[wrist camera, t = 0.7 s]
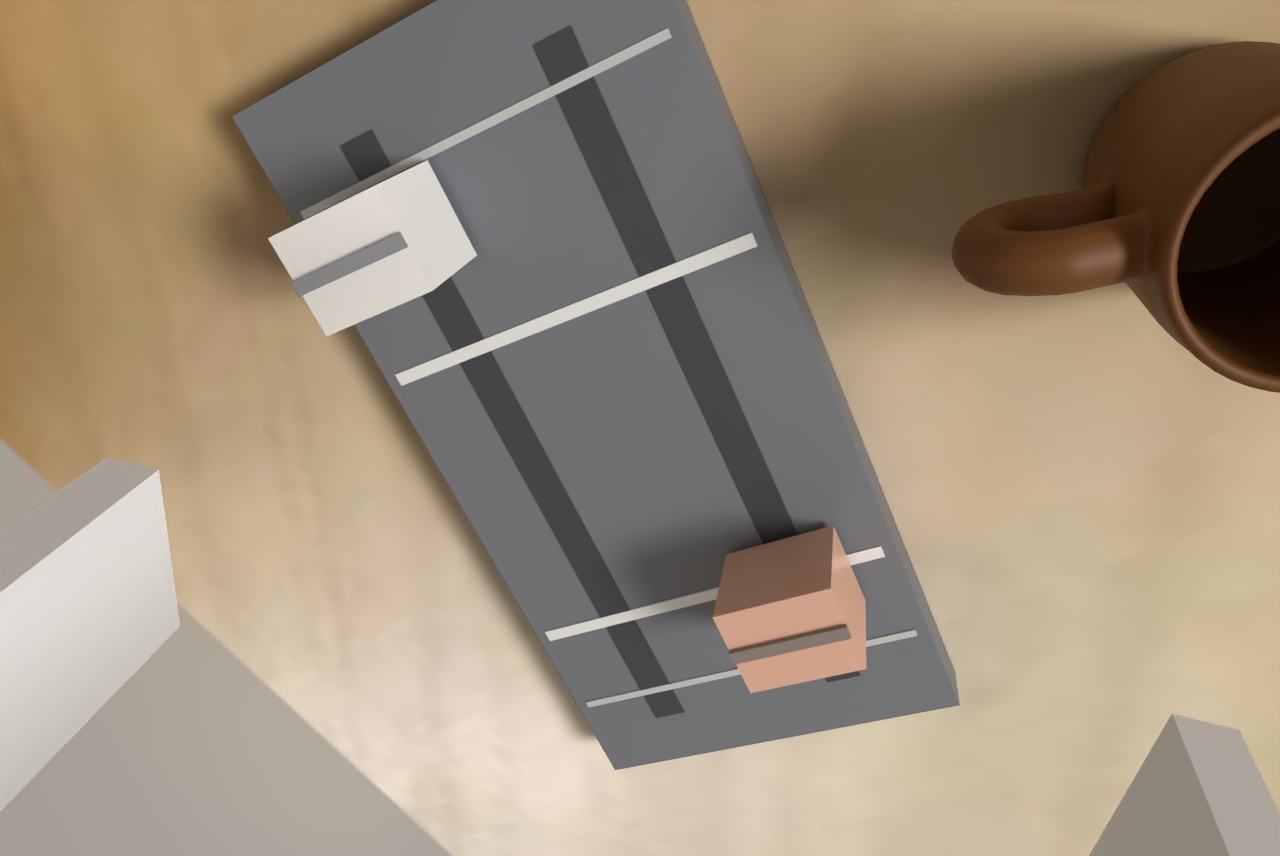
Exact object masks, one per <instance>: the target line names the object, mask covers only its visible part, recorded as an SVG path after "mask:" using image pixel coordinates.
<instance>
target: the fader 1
mask: <svg viewBox="0 0 1280 856" xmlns="http://www.w3.org/2000/svg"><path fill="white" fill-rule="evenodd" d="M268 239H269V241H270V243H271V244H272V246H273V248H274V249H275V251H276V253H277V254H278V256H279V258H280V259H281V261H282V263H283V264H284V266H285V268H286V269H287V271H288V273H289V274H290V276H291V278H292V279H293V281H294V282H292V283H291V285H292V287H293V288H294V290H295V292H296V293H297V295H298V297H300V296H303V298H304V299H305V301H306V303H307V304H308V306H309V308H310V309H311V311H312V313H313V314H314V316H315V318H316V319H317V321H318V323H319V324H320V326H321V328H322V329H323V331H324V333H325V334H326V336H329V335H331V334H334V333H336V332H338V331H340V330H343V329H345V328H347V327H350V326H352V325H354V324H357V323H359V322H361V321H364V320H366V319H368V318H371V317H373V316H375V315H378V314H380V313H382V312H385V311H387V310H389V309H392V308H394V307H396V306H398V305H401V304H403V303H405V302H408V301H410V300H412V299H415V298H417V297H419V296H422V295H424V294H426V293H429V292H431V291H433V290H434V289H435V288H437V287H438V286H439V285H441V284H442V283H443V282H444V281H446V280H447V279H448V278H449V277H451V276H452V275H453V274H454V273H456V272H457V271H458V270H459V269H461V268H462V267H463V266H464V265H466V264H467V263H468V262H469V261H471V260H472V259H473V258H474V257H476V256H477V254H476V252H475V250H474V248H473V246H472V244H471V242H470V241H469V239H468V237H467V235H466V233H465V231H464V229H463V227H462V225H461V223H460V221H459V219H458V218H457V216H456V214H455V212H454V210H453V208H452V206H451V204H450V202H449V200H448V198H447V197H446V195H445V193H444V191H443V189H442V187H441V185H440V183H439V181H438V179H437V177H436V175H435V174H434V172H433V170H432V168H431V166H430V164H429V162H428V160H427V161H425V162H422V163H420V164H418V165H416V166H414V167H412V168H410V169H408V170H406V171H404V172H402V173H400V174H398V175H395V176H393V177H391V178H389V179H387V180H385V181H383V182H381V183H379V184H377V185H375V186H373V187H371V188H369V189H367V190H365V191H363V192H361V193H359V194H357V195H354V196H352V197H350V198H348V199H346V200H344V201H342V202H340V203H338V204H336V205H334V206H332V207H330V208H328V209H326V210H324V211H322V212H320V213H318V214H316V215H314V216H312V217H310V218H308V219H306V220H304V221H302V222H300V223H298V224H296V225H294V226H292V227H290V228H288V229H286V230H284V231H282V232H280V233H278V234H276V235H274V236H272V237H270V238H268Z"/></svg>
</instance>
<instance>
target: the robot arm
mask: <svg viewBox="0 0 1280 856" xmlns="http://www.w3.org/2000/svg"><path fill="white" fill-rule="evenodd" d="M179 626H180V622H179V615H178V608H177V600H176V593H175V586H174V578H173V571H172V564H171V556H170V549H169V542H168V534H167V527H166V520H165V512H164V505H163V498H162V490H161V483H160V476H159V470H158V469H154V468H150V467H146V466H141V465H137V464H133V463H129V462H125V461H121V460H116V459H112V458H108V457H106V458H105V459H103V460H102V461H100V462H99V463H97V464H96V465H95V466H93V467H92V468H90V469H89V470H88V471H86V472H85V473H83V474H82V475H80V476H79V477H78V478H76V479H75V480H73V481H72V482H70V483H69V484H68V485H66V486H65V487H63V488H62V489H61V490H59V491H58V492H56V493H55V494H53V495H52V496H51V497H49V498H48V499H46V500H45V501H43V502H42V503H41V504H39V505H38V506H37V507H35V508H34V509H32V510H31V511H29V512H28V513H26V514H25V515H24V516H22V517H21V518H19V519H18V520H17V521H15V522H14V523H12V524H11V525H9V526H8V527H7V528H5V529H4V530H2V531H1V532H0V811H1V810H2V809H3V808H4V807H5V806H6V805H7V804H8V803H9V802H10V801H11V800H12V799H13V798H14V797H15V795H16V794H18V793H19V792H20V790H21V789H22V788H23V787H24V786H25V785H26V784H27V783H28V782H29V781H30V780H31V779H32V778H33V777H34V776H35V775H36V774H37V773H38V772H39V771H40V770H41V769H42V768H43V766H45V765H46V764H47V763H48V762H49V761H50V760H51V758H53V756H54V755H55V754H56V753H57V752H58V751H59V750H60V749H61V748H62V747H63V746H64V745H65V744H66V743H67V742H68V741H69V740H70V739H71V738H72V737H73V736H74V735H75V734H76V733H77V732H78V731H79V730H80V729H81V728H82V727H83V725H84V724H85V723H86V722H87V721H88V720H89V719H90V718H91V717H92V716H93V715H94V714H95V713H96V712H97V711H98V710H99V709H100V708H101V707H102V706H103V705H104V704H105V703H106V702H107V701H108V700H109V699H110V698H111V697H112V696H113V695H114V694H115V693H116V691H117V690H118V689H119V688H120V687H121V686H122V685H123V684H124V683H125V682H126V681H127V680H128V679H129V678H130V677H131V676H132V675H133V674H134V673H135V672H136V671H137V670H138V669H139V668H140V667H141V666H142V665H143V664H144V663H145V662H146V661H147V660H148V658H149V657H150V656H151V655H152V654H153V653H154V652H155V651H156V650H157V649H158V648H159V647H160V646H161V645H162V644H163V643H164V642H165V641H166V640H167V639H168V638H169V637H170V636H171V635H172V634H173V633H174V632H175V631H176V630H177V628H179ZM1089 856H1280V814H1279V811H1278V809H1277V807H1276V805H1275V803H1274V801H1273V799H1272V797H1271V795H1270V793H1269V791H1268V789H1267V787H1266V785H1265V782H1264V780H1263V778H1262V776H1261V774H1260V772H1259V770H1258V768H1257V766H1256V764H1255V762H1254V760H1253V758H1252V755H1251V753H1250V751H1249V749H1248V747H1247V745H1246V743H1245V741H1244V739H1243V737H1242V735H1241V733H1240V731H1239V730H1237V729H1233V728H1229V727H1225V726H1221V725H1217V724H1212V723H1208V722H1204V721H1200V720H1196V719H1192V718H1187V717H1183V716H1179V715H1175V714H1172V715H1171V716H1170V718H1169V720H1168V722H1167V723H1166V725H1165V727H1164V728H1163V730H1162V732H1161V734H1160V735H1159V737H1158V739H1157V740H1156V742H1155V744H1154V746H1153V747H1152V749H1151V751H1150V752H1149V754H1148V756H1147V758H1146V759H1145V761H1144V763H1143V764H1142V766H1141V768H1140V769H1139V771H1138V773H1137V775H1136V776H1135V778H1134V780H1133V781H1132V783H1131V785H1130V787H1129V788H1128V790H1127V792H1126V793H1125V795H1124V797H1123V799H1122V800H1121V802H1120V804H1119V805H1118V807H1117V809H1116V811H1115V812H1114V814H1113V816H1112V817H1111V819H1110V821H1109V823H1108V824H1107V826H1106V828H1105V829H1104V831H1103V833H1102V834H1101V836H1100V838H1099V840H1098V841H1097V843H1096V845H1095V846H1094V848H1093V850H1092V852H1091V853H1090V855H1089Z"/></svg>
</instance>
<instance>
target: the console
mask: <svg viewBox="0 0 1280 856" xmlns="http://www.w3.org/2000/svg"><path fill="white" fill-rule="evenodd" d="M232 118H233V119H234V121H235V123H236V125H237V126H238V128H239V130H240V131H241V133H242V135H243V136H244V138H245V140H246V142H247V143H248V145H249V147H250V148H251V150H252V152H253V153H254V155H255V157H256V159H257V160H258V162H259V164H260V165H261V167H262V169H263V171H264V172H265V174H266V176H267V177H268V179H269V181H270V182H271V184H272V186H273V188H274V189H275V191H276V193H277V194H278V196H279V198H280V199H281V201H282V203H283V205H284V206H285V208H286V210H287V211H288V213H289V215H290V217H291V218H292V220H293V222H294V223H295V225H296V224H298V223H300V222H302V221H304V220H306V219H308V218H310V217H312V216H314V215H316V214H318V213H320V212H322V211H324V210H326V209H328V208H330V207H332V206H334V205H336V204H338V203H340V202H342V201H344V200H346V199H348V198H350V197H352V196H354V195H357V194H359V193H361V192H363V191H365V190H367V189H369V188H371V187H373V186H375V185H377V184H379V183H381V182H383V181H385V180H387V179H389V178H391V177H393V176H395V175H398V174H400V173H402V172H404V171H406V170H408V169H410V168H412V167H414V166H416V165H418V164H420V163H422V162H425V161H427V160H428V162H429V164H430V166H431V168H432V170H433V172H434V174H435V175H436V177H437V179H438V181H439V183H440V185H441V187H442V189H443V191H444V193H445V195H446V197H447V198H448V200H449V202H450V204H451V206H452V208H453V210H454V212H455V214H456V216H457V218H458V219H459V221H460V223H461V225H462V227H463V229H464V231H465V233H466V235H467V237H468V239H469V241H470V242H471V244H472V246H473V248H474V250H475V252H476V254H477V256H476V257H474V258H473V259H472V260H471V261H469V262H468V263H467V264H466V265H464V266H463V267H462V268H461V269H459V270H458V271H457V272H456V273H454V274H453V275H452V276H451V277H449V278H448V279H447V280H446V281H444V282H443V283H442V284H441V285H439V286H438V287H437V288H435V289H434V290H433V291H431V292H429V293H426V294H424V295H422V296H419V297H417V298H415V299H412V300H410V301H408V302H405V303H403V304H401V305H398V306H396V307H394V308H392V309H389V310H387V311H385V312H382V313H380V314H378V315H375V316H373V317H371V318H368V319H366V320H364V321H361V322H359V323H357V324H354V326H355V327H356V329H357V331H358V332H359V334H360V336H361V337H362V339H363V341H364V343H365V344H366V346H367V348H368V349H369V351H370V353H371V355H372V356H373V358H374V360H375V361H376V363H377V365H378V366H379V368H380V370H381V372H382V373H383V375H384V377H385V378H386V380H387V382H388V383H389V385H390V387H391V389H392V390H393V392H394V394H395V395H396V397H397V399H398V401H399V402H400V404H401V406H402V407H403V409H404V411H405V412H406V414H407V416H408V418H409V419H410V421H411V423H412V424H413V426H414V428H415V430H416V431H417V433H418V435H419V436H420V438H421V440H422V441H423V443H424V445H425V447H426V448H427V450H428V452H429V453H430V455H431V457H432V458H433V460H434V462H435V464H436V465H437V467H438V469H439V470H440V472H441V474H442V476H443V477H444V479H445V481H446V482H447V484H448V486H449V487H450V489H451V491H452V493H453V494H454V496H455V498H456V499H457V501H458V503H459V504H460V506H461V508H462V510H463V511H464V513H465V515H466V516H467V518H468V520H469V522H470V523H471V525H472V527H473V528H474V530H475V532H476V533H477V535H478V537H479V539H480V540H481V542H482V544H483V545H484V547H485V549H486V550H487V552H488V554H489V556H490V557H491V559H492V561H493V562H494V564H495V566H496V568H497V569H498V571H499V573H500V574H501V576H502V578H503V579H504V581H505V583H506V585H507V586H508V588H509V590H510V591H511V593H512V595H513V596H514V598H515V600H516V602H517V603H518V605H519V607H520V608H521V610H522V612H523V614H524V615H525V617H526V619H527V620H528V622H529V624H530V625H531V627H532V629H533V631H534V632H535V634H536V636H537V637H538V639H539V641H540V642H541V644H542V646H543V648H544V649H545V651H546V653H547V654H548V656H549V658H550V660H551V661H552V663H553V665H554V666H555V668H556V670H557V671H558V673H559V675H560V677H561V678H562V680H563V682H564V683H565V685H566V687H567V688H568V690H569V692H570V694H571V695H572V697H573V699H574V700H575V702H576V704H577V706H578V707H579V709H580V711H581V712H582V714H583V716H584V717H585V719H586V721H587V723H588V724H589V726H590V728H591V729H592V731H593V733H594V734H595V736H596V738H597V740H598V741H599V743H600V745H601V746H602V748H603V750H604V752H605V753H606V755H607V757H608V758H609V760H610V762H611V763H612V765H613V767H614V769H615V770H618V769H624V768H629V767H634V766H639V765H645V764H650V763H655V762H661V761H666V760H671V759H677V758H682V757H687V756H692V755H698V754H703V753H708V752H714V751H719V750H724V749H730V748H735V747H740V746H746V745H751V744H756V743H761V742H767V741H772V740H777V739H783V738H788V737H793V736H799V735H804V734H809V733H814V732H820V731H825V730H830V729H836V728H841V727H846V726H852V725H857V724H862V723H868V722H873V721H878V720H883V719H889V718H894V717H899V716H905V715H910V714H915V713H921V712H926V711H931V710H936V709H942V708H947V707H952V706H958V705H959V697H958V690H957V683H956V675H955V671H954V668H953V666H952V663H951V661H950V658H949V656H948V653H947V651H946V648H945V646H944V643H943V641H942V638H941V636H940V633H939V631H938V628H937V626H936V623H935V621H934V618H933V616H932V613H931V611H930V608H929V606H928V603H927V601H926V598H925V596H924V593H923V591H922V588H921V586H920V583H919V581H918V578H917V576H916V573H915V571H914V568H913V566H912V563H911V561H910V558H909V556H908V553H907V551H906V548H905V546H904V543H903V541H902V538H901V536H900V533H899V531H898V528H897V526H896V523H895V521H894V518H893V516H892V513H891V511H890V508H889V506H888V503H887V501H886V498H885V496H884V493H883V491H882V488H881V486H880V483H879V481H878V478H877V476H876V473H875V471H874V468H873V466H872V463H871V461H870V458H869V456H868V453H867V451H866V448H865V446H864V443H863V441H862V438H861V436H860V434H859V431H858V429H857V426H856V424H855V421H854V419H853V416H852V414H851V411H850V409H849V406H848V404H847V401H846V399H845V396H844V394H843V391H842V389H841V386H840V384H839V381H838V379H837V376H836V374H835V371H834V369H833V366H832V364H831V361H830V359H829V356H828V354H827V351H826V349H825V346H824V344H823V341H822V339H821V336H820V334H819V331H818V329H817V326H816V324H815V321H814V319H813V316H812V314H811V311H810V309H809V306H808V304H807V301H806V299H805V296H804V294H803V291H802V289H801V286H800V284H799V281H798V279H797V276H796V274H795V271H794V269H793V266H792V264H791V261H790V259H789V256H788V254H787V251H786V249H785V246H784V244H783V241H782V239H781V236H780V234H779V231H778V229H777V226H776V224H775V221H774V219H773V216H772V214H771V211H770V209H769V206H768V204H767V201H766V199H765V196H764V194H763V191H762V189H761V186H760V184H759V181H758V179H757V176H756V174H755V171H754V169H753V166H752V164H751V161H750V159H749V156H748V154H747V151H746V149H745V146H744V144H743V141H742V139H741V136H740V134H739V131H738V129H737V126H736V124H735V121H734V119H733V116H732V114H731V111H730V109H729V106H728V104H727V101H726V99H725V96H724V94H723V91H722V89H721V86H720V84H719V81H718V79H717V76H716V74H715V71H714V69H713V66H712V64H711V61H710V59H709V56H708V54H707V51H706V49H705V47H704V44H703V42H702V39H701V37H700V34H699V32H698V29H697V27H696V24H695V22H694V19H693V17H692V14H691V12H690V9H689V7H688V4H687V2H686V0H436V1H435V2H433V3H431V4H429V5H427V6H426V7H424V8H422V9H420V10H419V11H417V12H415V13H413V14H412V15H410V16H408V17H406V18H405V19H403V20H401V21H399V22H398V23H396V24H394V25H392V26H390V27H389V28H387V29H385V30H383V31H382V32H380V33H378V34H376V35H375V36H373V37H371V38H369V39H368V40H366V41H364V42H362V43H361V44H359V45H357V46H355V47H353V48H352V49H350V50H348V51H346V52H345V53H343V54H341V55H339V56H338V57H336V58H334V59H332V60H331V61H329V62H327V63H325V64H324V65H322V66H320V67H318V68H316V69H315V70H313V71H311V72H309V73H308V74H306V75H304V76H302V77H301V78H299V79H297V80H295V81H294V82H292V83H290V84H288V85H287V86H285V87H283V88H281V89H279V90H278V91H276V92H274V93H272V94H271V95H269V96H267V97H265V98H264V99H262V100H260V101H258V102H257V103H255V104H253V105H251V106H249V107H248V108H246V109H244V110H242V111H241V112H239V113H237V114H235V115H234V116H232ZM833 525H834V528H835V530H836V532H837V535H838V537H839V539H840V542H841V544H842V546H843V549H844V551H845V553H846V556H847V558H848V560H849V563H850V565H851V567H852V570H853V572H854V574H855V577H856V579H857V581H858V584H859V586H860V588H861V591H862V593H863V596H864V598H865V600H866V669H864V670H860V671H855V672H850V673H845V674H841V675H836V676H831V677H826V678H821V679H817V680H812V681H807V682H802V683H798V684H793V685H788V686H783V687H778V688H774V689H769V690H764V691H759V692H755V693H750V691H749V689H748V687H747V685H746V683H745V681H744V679H743V677H742V675H741V673H740V671H739V669H738V667H737V665H734V664H733V662H732V660H731V658H730V656H729V650H728V648H727V646H726V644H725V642H724V640H723V638H722V636H721V634H720V632H719V630H718V628H717V626H716V624H715V622H714V620H713V618H712V617H713V612H714V608H715V603H716V599H717V594H718V589H719V585H720V580H721V576H722V571H723V567H724V562H725V557H726V554H729V553H733V552H737V551H740V550H744V549H748V548H752V547H755V546H759V545H763V544H766V543H770V542H774V541H778V540H781V539H785V538H789V537H792V536H796V535H800V534H804V533H807V532H811V531H815V530H818V529H822V528H826V527H830V526H833Z"/></svg>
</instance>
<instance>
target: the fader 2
mask: <svg viewBox="0 0 1280 856" xmlns="http://www.w3.org/2000/svg"><path fill="white" fill-rule="evenodd" d="M712 618H713V620H714V622H715V624H716V626H717V628H718V630H719V632H720V634H721V636H722V638H723V640H724V642H725V644H726V646H727V648H728V650H729V656H730V658H731V660H732V662H733V664H734V665H737V667H738V669H739V671H740V673H741V675H742V677H743V679H744V681H745V683H746V685H747V687H748V689H749V691H750V693H755V692H759V691H764V690H769V689H774V688H778V687H783V686H788V685H793V684H798V683H802V682H807V681H812V680H817V679H821V678H826V677H831V676H836V675H841V674H845V673H850V672H855V671H860V670H864V669H866V600H865V598H864V596H863V593H862V591H861V588H860V586H859V584H858V581H857V579H856V577H855V574H854V572H853V570H852V567H851V565H850V563H849V560H848V558H847V556H846V553H845V551H844V549H843V546H842V544H841V542H840V539H839V537H838V535H837V532H836V530H835V528H834V525H833V526H830V527H826V528H822V529H818V530H815V531H811V532H807V533H804V534H800V535H796V536H792V537H789V538H785V539H781V540H778V541H774V542H770V543H766V544H763V545H759V546H755V547H752V548H748V549H744V550H740V551H737V552H733V553H729V554H726V557H725V562H724V567H723V571H722V576H721V580H720V585H719V589H718V594H717V599H716V603H715V608H714V612H713V617H712Z"/></svg>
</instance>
